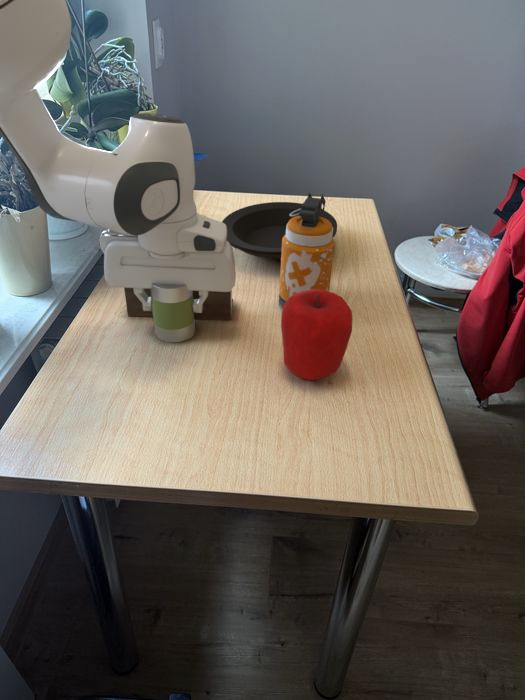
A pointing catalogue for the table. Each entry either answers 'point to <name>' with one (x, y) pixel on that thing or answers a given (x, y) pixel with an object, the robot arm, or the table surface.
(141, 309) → the brown wooden block
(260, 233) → the plate
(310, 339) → the apple
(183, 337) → the can
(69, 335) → the table surface
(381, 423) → the table surface
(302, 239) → the canister
